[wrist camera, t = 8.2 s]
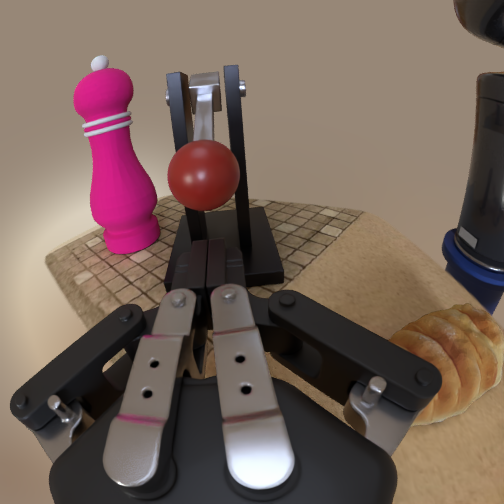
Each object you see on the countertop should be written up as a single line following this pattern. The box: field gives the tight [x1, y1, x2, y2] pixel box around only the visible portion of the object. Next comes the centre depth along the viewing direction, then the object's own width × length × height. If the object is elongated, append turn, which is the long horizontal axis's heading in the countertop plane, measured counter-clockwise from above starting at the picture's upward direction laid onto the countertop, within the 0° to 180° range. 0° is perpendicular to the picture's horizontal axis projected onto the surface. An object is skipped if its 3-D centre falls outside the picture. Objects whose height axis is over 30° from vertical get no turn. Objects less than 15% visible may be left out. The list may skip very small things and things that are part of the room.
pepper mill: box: [74, 56, 160, 254], centre depth 24 cm, size 7×7×20 cm
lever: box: [168, 72, 240, 211], centre depth 16 cm, size 13×4×4 cm, turn 5°
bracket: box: [164, 65, 284, 293], centre depth 23 cm, size 12×9×16 cm
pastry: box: [388, 303, 504, 427], centre depth 12 cm, size 9×7×4 cm
